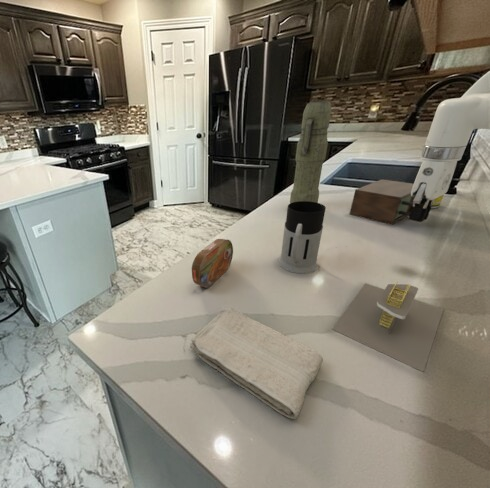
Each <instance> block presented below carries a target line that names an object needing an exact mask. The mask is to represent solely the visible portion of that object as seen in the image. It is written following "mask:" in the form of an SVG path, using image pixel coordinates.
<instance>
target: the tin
mask: <svg viewBox="0 0 490 488" xmlns="http://www.w3.org/2000/svg"><path fill="white" fill-rule="evenodd" d="M233 256H234V247H233V243H232V241H231V240H230V239H224V238H216V239H215V240H213V241H212V242H210V243H209V244H208V245H207V246H206V247H204V248H203V249H202V250H201V251H199V252H198V253H197V254H196V256H195V257H194V259H193V262H192V264H191V278H192V281H193V283H194V284H195V285H198V286H200V287H203V288H205V289H207V288H210V287H211V286H212V285H214V283H215V282H216V281H217V280H219V279H220V278H221V276H223V274H225V273H226V272H227V271H228V269H229V268H230V266H231V263H232V261H233Z"/></svg>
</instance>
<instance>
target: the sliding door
mask: <svg viewBox="0 0 490 488" xmlns="http://www.w3.org/2000/svg"><path fill="white" fill-rule="evenodd" d="M411 197H412V196H411V195H410V196H408V197H406V198H404V199H402V200H401V202H400V205H399V209H398V212H397V215H396V218H398V217H400V216H402V215H406V216H407V217H409V215H410V213H409V212H407V209H408V206H413V203H411V202H410V200H411ZM396 218H395V219H396Z"/></svg>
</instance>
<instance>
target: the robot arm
mask: <svg viewBox="0 0 490 488" xmlns="http://www.w3.org/2000/svg"><path fill="white" fill-rule="evenodd" d="M474 130H490V70H488V71H487V72H486V73H485V74H484V75H482V76H481V77H479V79H477V81H475V82H474V83H473V85H471V86H470V87H469V88H468V89H467V91H465V92H464V93H463V95H461V97H455V98H448V99H444V100H442V101H441V102H440V103H439V104H438V106H437V108H436V111H435V113H434V116H433V119H432V122H431V124H430V128H429V131H428V134H427V137H426V139H425V143H424V145H423V146H424V147H423V149H422V152H421V154H420V160H422V162H421V165H420V167H419V168H418V169H419V170H418V172H417V174H416V177H415V179H414V182H413V183H412V184H413V187H412V191H411V196H412V197H415V198H414V200H413V207H412V209H411V212H410V215H409V216H408V220H409V221H414V222H417V223H422V222H424V221H426V220H427V219H428V217H429V214H430V212H431V209H432V208H431V207H432V204H433V202H434V199H436V198H438V197H440V196H442V195H444V196H445V194H447V192H448V191H449V188H450V185H451V182H452V179H453V176H454V173H455V170H456V168H457V164H458V161H461V160H462V158H463V155H464V153H465V150H466V148H467V146H468V144H469V141H470V138H471V136H472V134H473V131H474Z"/></svg>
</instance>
